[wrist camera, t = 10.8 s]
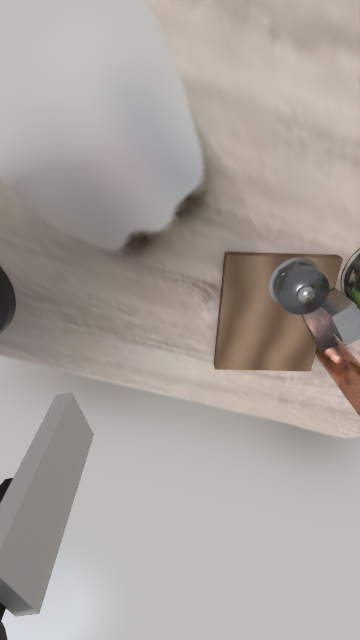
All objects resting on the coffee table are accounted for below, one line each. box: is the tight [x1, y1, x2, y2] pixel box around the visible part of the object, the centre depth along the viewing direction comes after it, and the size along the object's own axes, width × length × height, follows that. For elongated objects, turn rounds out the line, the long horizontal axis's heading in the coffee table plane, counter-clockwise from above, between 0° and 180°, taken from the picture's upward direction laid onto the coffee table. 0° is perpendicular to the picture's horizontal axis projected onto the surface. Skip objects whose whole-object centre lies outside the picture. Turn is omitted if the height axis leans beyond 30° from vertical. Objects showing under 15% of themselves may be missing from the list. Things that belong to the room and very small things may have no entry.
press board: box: [214, 252, 343, 371], centre depth 43 cm, size 15×18×2 cm
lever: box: [273, 261, 360, 415], centre depth 37 cm, size 18×7×11 cm, turn 34°
